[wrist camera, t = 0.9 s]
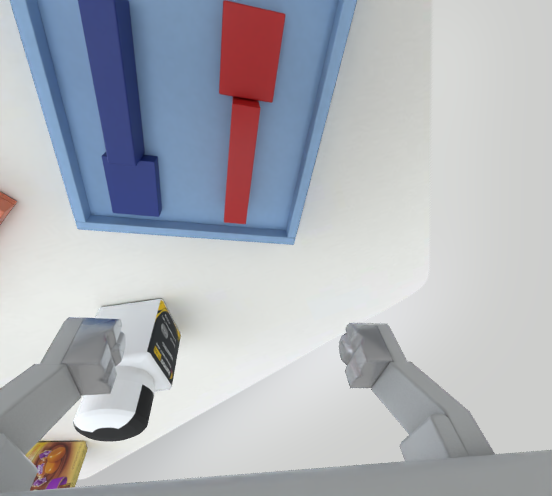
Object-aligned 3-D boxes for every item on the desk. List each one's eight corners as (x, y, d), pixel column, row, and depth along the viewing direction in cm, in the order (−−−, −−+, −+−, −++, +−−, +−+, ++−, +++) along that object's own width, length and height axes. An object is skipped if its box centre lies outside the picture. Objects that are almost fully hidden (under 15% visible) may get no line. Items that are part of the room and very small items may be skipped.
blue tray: (-9, -132, 14) (-35, -148, 12) (357, -34, 17) (367, -38, 16) (85, 218, 25) (77, 229, 24) (291, 234, 29) (293, 245, 28)
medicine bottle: (181, 334, 37) (163, 441, 28) (125, 342, 37) (88, 453, 27) (162, 296, 32) (133, 410, 23) (98, 306, 32) (42, 423, 23)
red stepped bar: (223, 0, 17) (222, -2, 15) (283, 13, 18) (289, 13, 16) (214, 205, 25) (212, 221, 23) (255, 209, 26) (256, 225, 24)
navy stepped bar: (162, 209, 25) (155, 226, 23) (117, 205, 25) (106, 222, 22) (145, 3, 17) (133, 1, 15) (76, -12, 16) (54, -15, 14)
